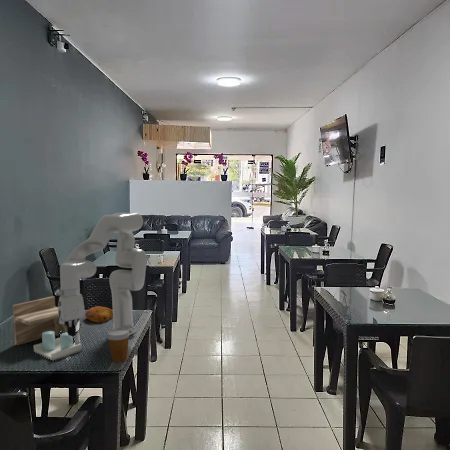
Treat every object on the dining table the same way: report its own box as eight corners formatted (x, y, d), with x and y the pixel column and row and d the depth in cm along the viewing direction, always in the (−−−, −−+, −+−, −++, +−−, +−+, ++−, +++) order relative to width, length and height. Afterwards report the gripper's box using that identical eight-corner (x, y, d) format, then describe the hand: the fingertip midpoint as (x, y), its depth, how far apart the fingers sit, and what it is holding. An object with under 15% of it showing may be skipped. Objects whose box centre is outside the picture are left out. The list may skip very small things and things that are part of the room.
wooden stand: (71, 339, 206) (69, 300, 204) (30, 352, 191) (28, 310, 189) (55, 333, 216) (53, 296, 214) (15, 344, 200) (12, 305, 198)
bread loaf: (92, 328, 228) (92, 314, 226) (82, 318, 240) (81, 304, 238) (118, 322, 237) (118, 308, 235) (106, 312, 249) (106, 299, 247)
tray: (82, 350, 191) (81, 332, 191) (52, 361, 181) (51, 342, 180) (63, 343, 202) (62, 325, 201) (33, 352, 191) (32, 334, 190)
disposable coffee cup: (110, 355, 186) (108, 328, 185) (132, 354, 187) (131, 327, 186) (105, 364, 177) (104, 336, 175) (129, 363, 177) (128, 335, 176)
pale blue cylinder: (75, 350, 191) (74, 333, 190) (64, 353, 187) (63, 337, 186) (69, 347, 194) (68, 331, 193) (58, 350, 190) (57, 334, 189)
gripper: (58, 297, 172) (59, 341, 173) (91, 290, 183) (92, 332, 185) (48, 294, 177) (50, 337, 178) (81, 288, 188) (82, 329, 189)
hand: (71, 335), depth 181 cm, fingers closed
